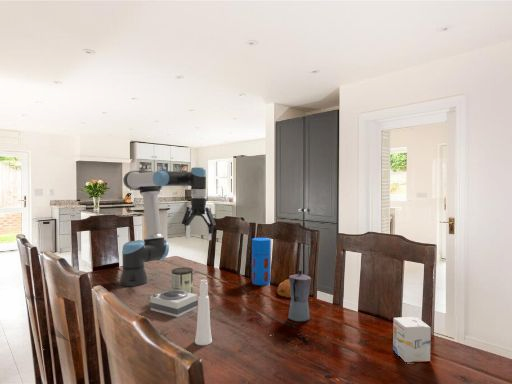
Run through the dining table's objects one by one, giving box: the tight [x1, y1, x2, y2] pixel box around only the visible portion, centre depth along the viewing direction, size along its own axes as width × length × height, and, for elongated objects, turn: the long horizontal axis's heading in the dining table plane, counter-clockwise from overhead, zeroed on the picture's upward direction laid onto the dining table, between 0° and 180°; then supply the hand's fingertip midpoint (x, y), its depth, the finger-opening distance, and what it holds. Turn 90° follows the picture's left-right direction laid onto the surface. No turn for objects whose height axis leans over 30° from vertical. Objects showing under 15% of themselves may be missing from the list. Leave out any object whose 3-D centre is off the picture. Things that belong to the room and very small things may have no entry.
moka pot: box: [287, 270, 312, 322], centre depth 144 cm, size 10×15×20 cm, turn 161°
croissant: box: [276, 278, 291, 298], centre depth 178 cm, size 14×16×8 cm
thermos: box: [251, 237, 272, 286], centre depth 197 cm, size 11×11×25 cm
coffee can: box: [171, 266, 194, 294], centre depth 170 cm, size 10×10×14 cm
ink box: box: [392, 316, 432, 362], centre depth 112 cm, size 9×8×12 cm
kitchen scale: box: [149, 288, 198, 318], centre depth 155 cm, size 16×13×7 cm
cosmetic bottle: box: [194, 278, 213, 346], centre depth 122 cm, size 6×6×22 cm
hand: (198, 239), depth 177 cm, fingers open, 13 cm apart
